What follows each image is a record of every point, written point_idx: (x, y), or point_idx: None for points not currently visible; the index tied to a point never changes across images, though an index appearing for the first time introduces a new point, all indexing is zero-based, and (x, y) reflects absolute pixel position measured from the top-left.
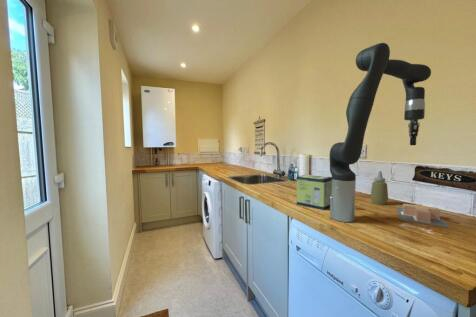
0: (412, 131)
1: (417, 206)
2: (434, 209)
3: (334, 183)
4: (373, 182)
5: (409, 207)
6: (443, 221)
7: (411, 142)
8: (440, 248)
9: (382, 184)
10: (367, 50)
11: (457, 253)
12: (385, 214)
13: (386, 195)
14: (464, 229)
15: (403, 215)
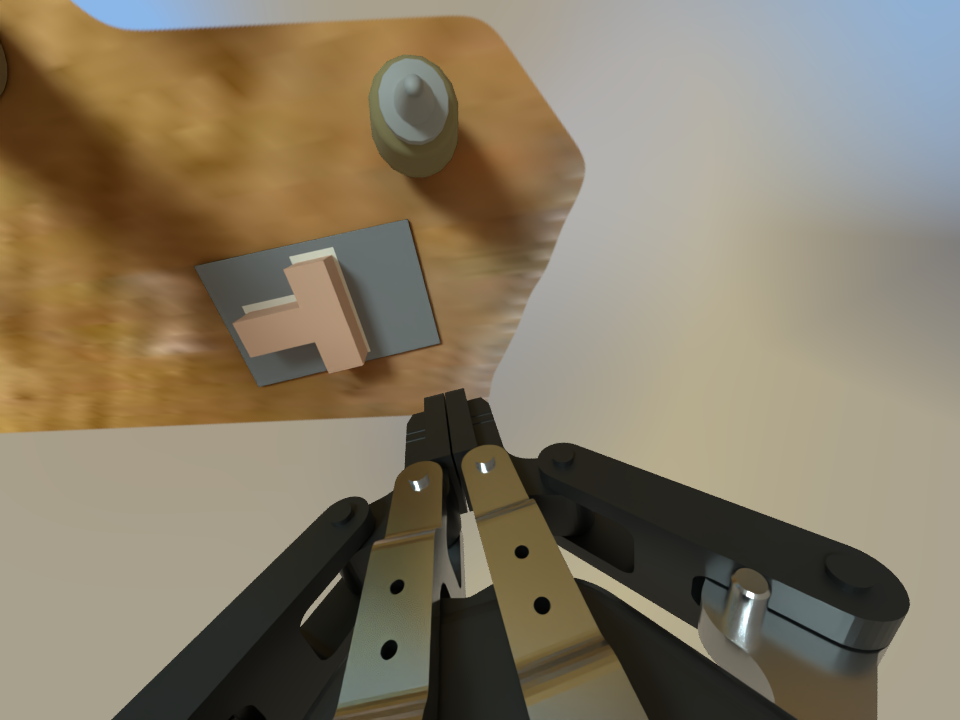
0: (233, 622)
1: (318, 311)
2: (323, 359)
3: None
4: (386, 65)
5: (293, 287)
6: (317, 369)
7: (413, 427)
8: (34, 384)
9: (379, 139)
10: None
11: (43, 411)
12: (244, 202)
13: (402, 170)
14: (294, 409)
15: (277, 265)
